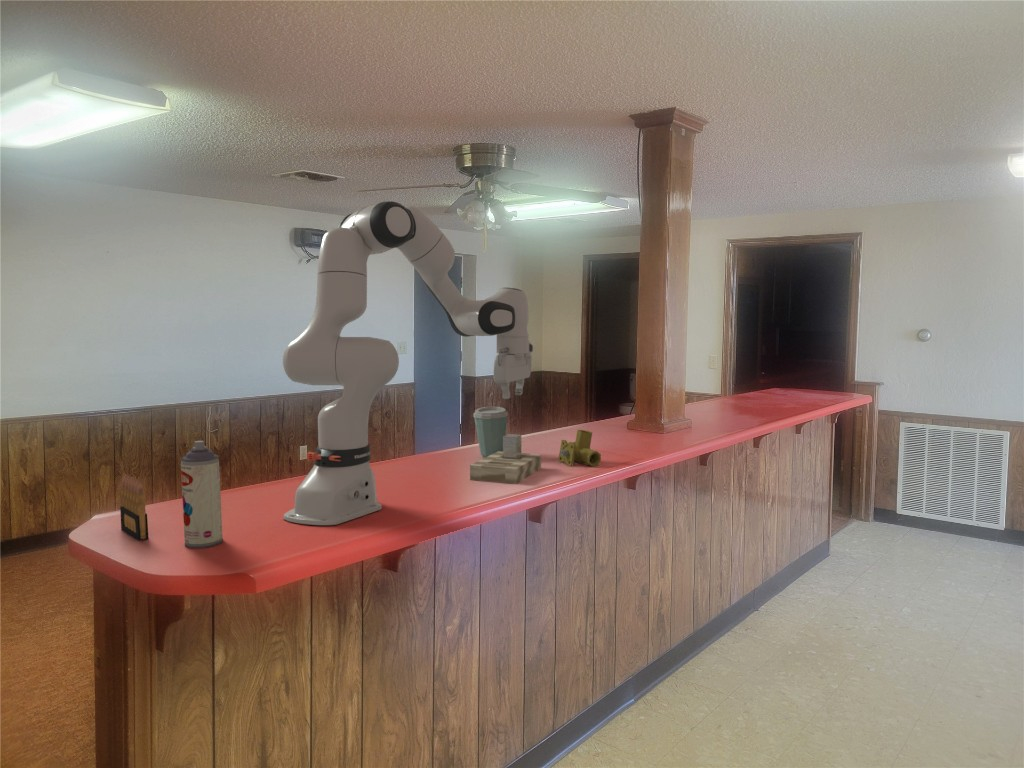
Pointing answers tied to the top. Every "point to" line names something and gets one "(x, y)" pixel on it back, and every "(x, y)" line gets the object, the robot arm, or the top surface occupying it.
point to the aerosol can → (201, 497)
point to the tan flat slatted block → (505, 468)
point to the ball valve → (579, 450)
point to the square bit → (512, 446)
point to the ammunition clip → (133, 508)
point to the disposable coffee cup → (490, 429)
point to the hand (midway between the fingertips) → (512, 396)
